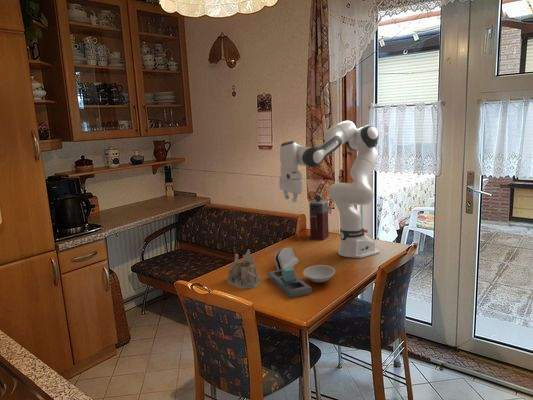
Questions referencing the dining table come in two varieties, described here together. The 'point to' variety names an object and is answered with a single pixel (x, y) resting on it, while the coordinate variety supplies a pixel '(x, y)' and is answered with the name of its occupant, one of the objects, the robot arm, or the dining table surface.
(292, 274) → the square peg
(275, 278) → the grey slotted board
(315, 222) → the dark brown tall piece
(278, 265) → the white arch segment
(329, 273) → the dish
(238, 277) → the ceramic cottage
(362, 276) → the dining table surface
